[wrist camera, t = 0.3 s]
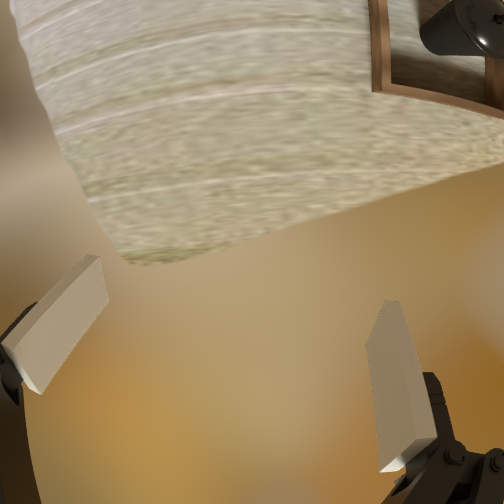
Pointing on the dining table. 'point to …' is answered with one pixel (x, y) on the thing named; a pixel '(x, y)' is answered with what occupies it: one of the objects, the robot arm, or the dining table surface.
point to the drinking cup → (466, 29)
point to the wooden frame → (496, 99)
